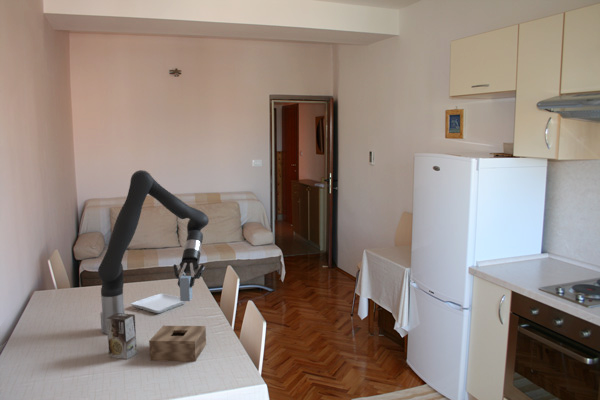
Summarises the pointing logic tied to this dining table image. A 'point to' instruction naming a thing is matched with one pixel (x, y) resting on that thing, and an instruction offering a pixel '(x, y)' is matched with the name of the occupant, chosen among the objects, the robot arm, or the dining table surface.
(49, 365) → the dining table surface
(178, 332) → the wooden socket block
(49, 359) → the dining table surface
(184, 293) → the slate peg
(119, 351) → the coffee box
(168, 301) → the salad plate
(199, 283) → the dining table surface
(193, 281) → the robot arm
